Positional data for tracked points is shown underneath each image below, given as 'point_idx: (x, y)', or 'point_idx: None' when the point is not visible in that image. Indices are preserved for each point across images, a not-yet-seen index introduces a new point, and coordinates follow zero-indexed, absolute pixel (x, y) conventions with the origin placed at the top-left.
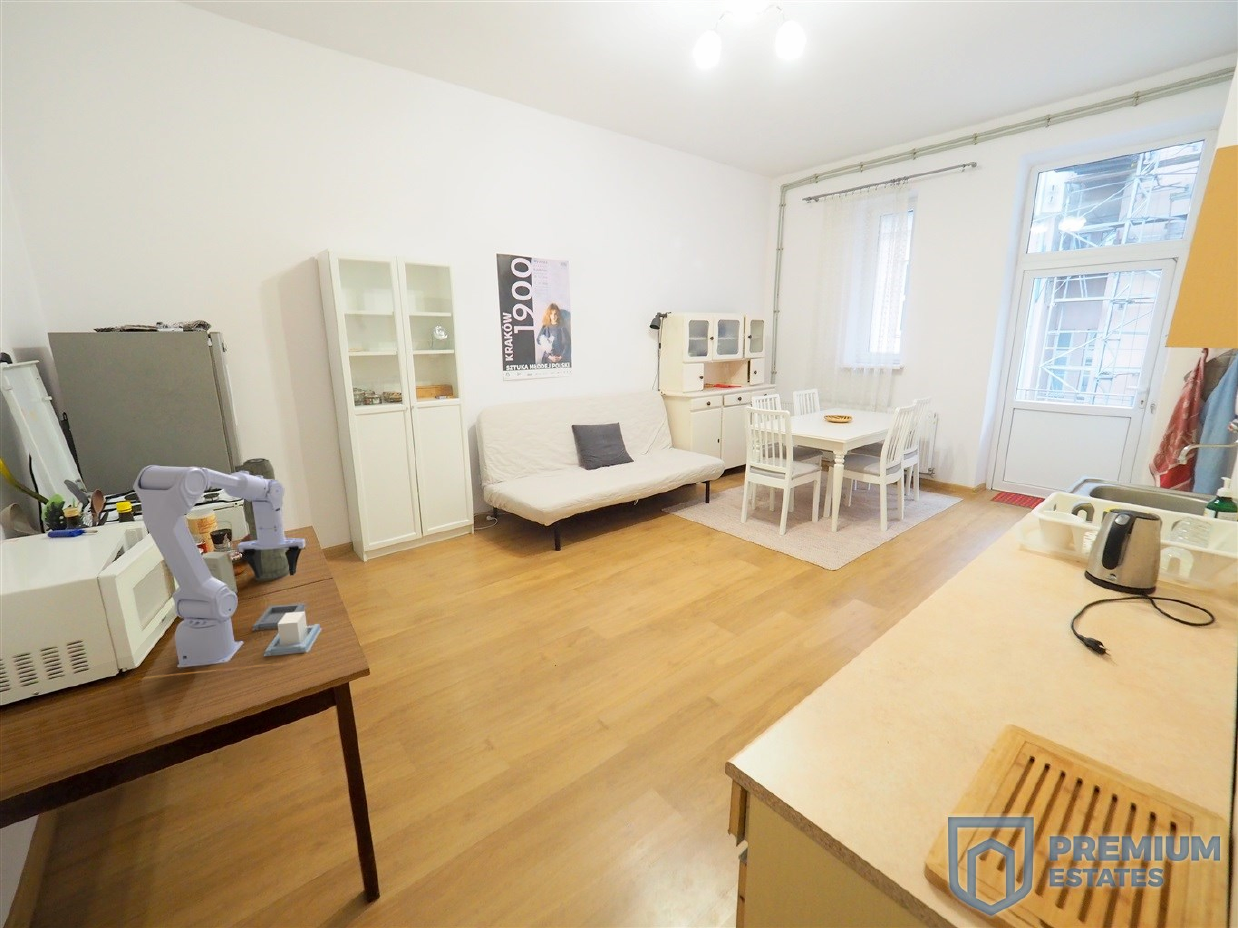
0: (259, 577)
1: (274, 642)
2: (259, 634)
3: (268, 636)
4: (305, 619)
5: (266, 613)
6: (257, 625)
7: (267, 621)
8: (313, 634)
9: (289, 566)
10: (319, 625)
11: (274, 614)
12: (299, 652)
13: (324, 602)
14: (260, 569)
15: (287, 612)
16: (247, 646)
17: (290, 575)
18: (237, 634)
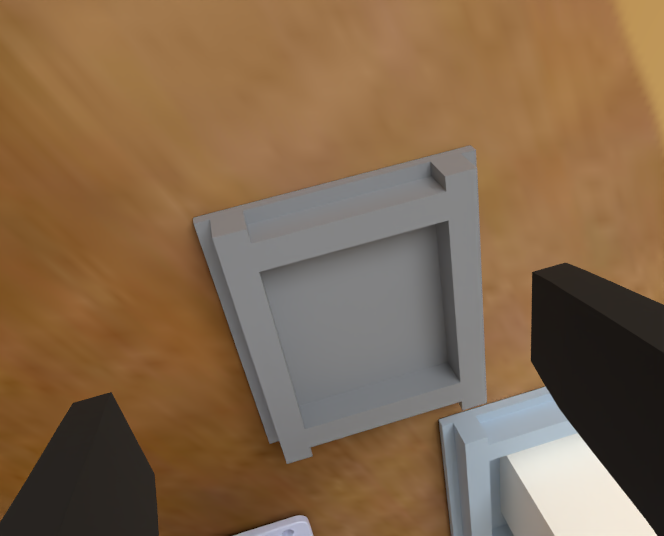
0: (151, 473)
1: (485, 534)
2: (329, 444)
3: (387, 448)
4: None
5: (274, 347)
6: (310, 454)
7: (345, 418)
8: None
9: (643, 501)
10: None
11: (293, 282)
12: None
13: (572, 46)
14: (113, 510)
15: (371, 248)
16: (336, 518)
17: (536, 363)
18: (204, 465)
